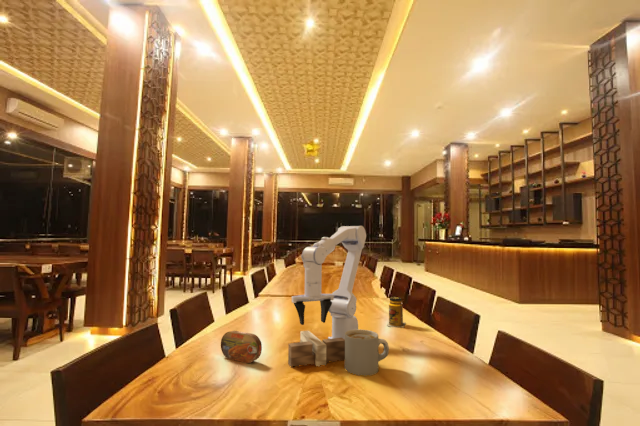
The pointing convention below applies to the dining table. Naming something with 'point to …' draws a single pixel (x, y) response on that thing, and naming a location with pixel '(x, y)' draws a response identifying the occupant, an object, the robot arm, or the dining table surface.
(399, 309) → the condiment
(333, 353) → the walnut slotted plate
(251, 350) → the tin
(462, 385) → the dining table surface
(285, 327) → the dining table surface
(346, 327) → the robot arm
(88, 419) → the dining table surface
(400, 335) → the dining table surface
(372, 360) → the coffee mug
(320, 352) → the ash notched plate
